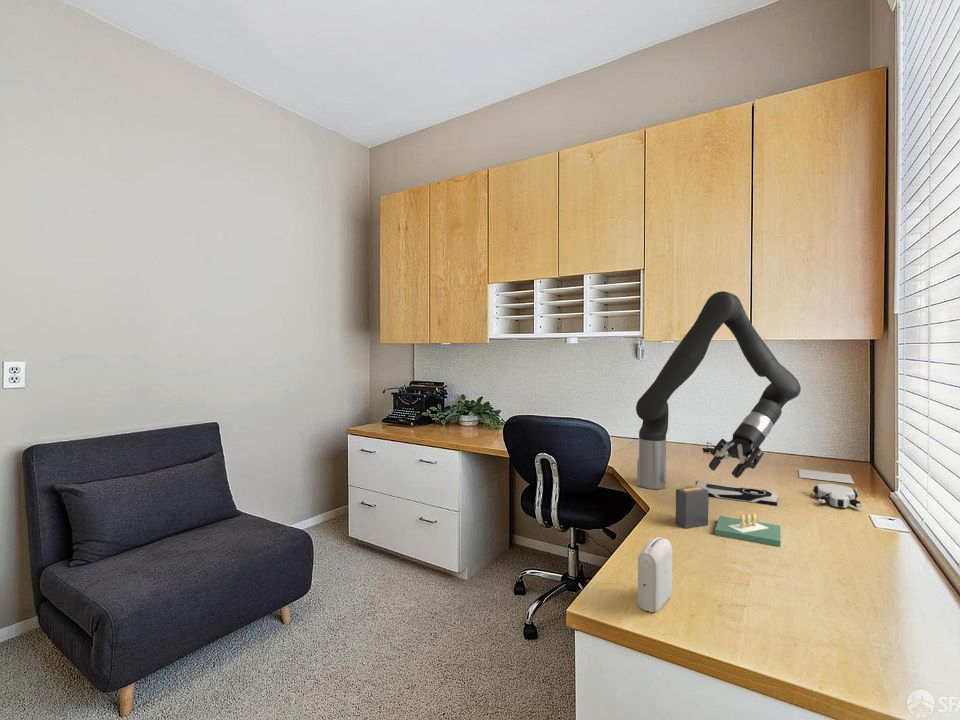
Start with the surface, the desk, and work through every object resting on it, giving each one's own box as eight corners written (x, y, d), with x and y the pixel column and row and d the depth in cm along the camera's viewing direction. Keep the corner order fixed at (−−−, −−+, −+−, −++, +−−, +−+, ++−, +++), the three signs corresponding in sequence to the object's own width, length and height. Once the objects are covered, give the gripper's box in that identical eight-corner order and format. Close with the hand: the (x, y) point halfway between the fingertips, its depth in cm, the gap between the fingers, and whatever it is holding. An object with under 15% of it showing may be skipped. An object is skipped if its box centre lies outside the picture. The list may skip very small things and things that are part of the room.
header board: (715, 534, 131) (715, 516, 131) (719, 520, 141) (719, 503, 141) (780, 546, 123) (780, 527, 123) (780, 530, 133) (780, 512, 133)
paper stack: (858, 492, 167) (858, 490, 167) (773, 482, 181) (773, 480, 181) (850, 476, 187) (850, 474, 187) (774, 468, 200) (774, 466, 200)
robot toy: (865, 516, 146) (855, 498, 160) (866, 501, 146) (856, 485, 159) (816, 510, 152) (810, 493, 165) (817, 496, 152) (810, 480, 165)
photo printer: (656, 616, 92) (656, 552, 92) (634, 608, 95) (634, 546, 95) (674, 594, 100) (675, 535, 100) (654, 587, 103) (654, 530, 103)
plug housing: (685, 528, 135) (685, 492, 135) (675, 523, 139) (675, 488, 139) (708, 525, 138) (708, 489, 138) (697, 520, 142) (697, 485, 141)
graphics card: (695, 480, 173) (777, 489, 161) (695, 489, 173) (777, 499, 161) (692, 487, 164) (778, 498, 152) (692, 497, 165) (778, 509, 152)
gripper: (727, 418, 151) (697, 458, 147) (767, 426, 137) (735, 470, 134) (740, 434, 152) (710, 474, 149) (781, 443, 139) (749, 487, 136)
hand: (722, 472), depth 141 cm, fingers open, 8 cm apart
